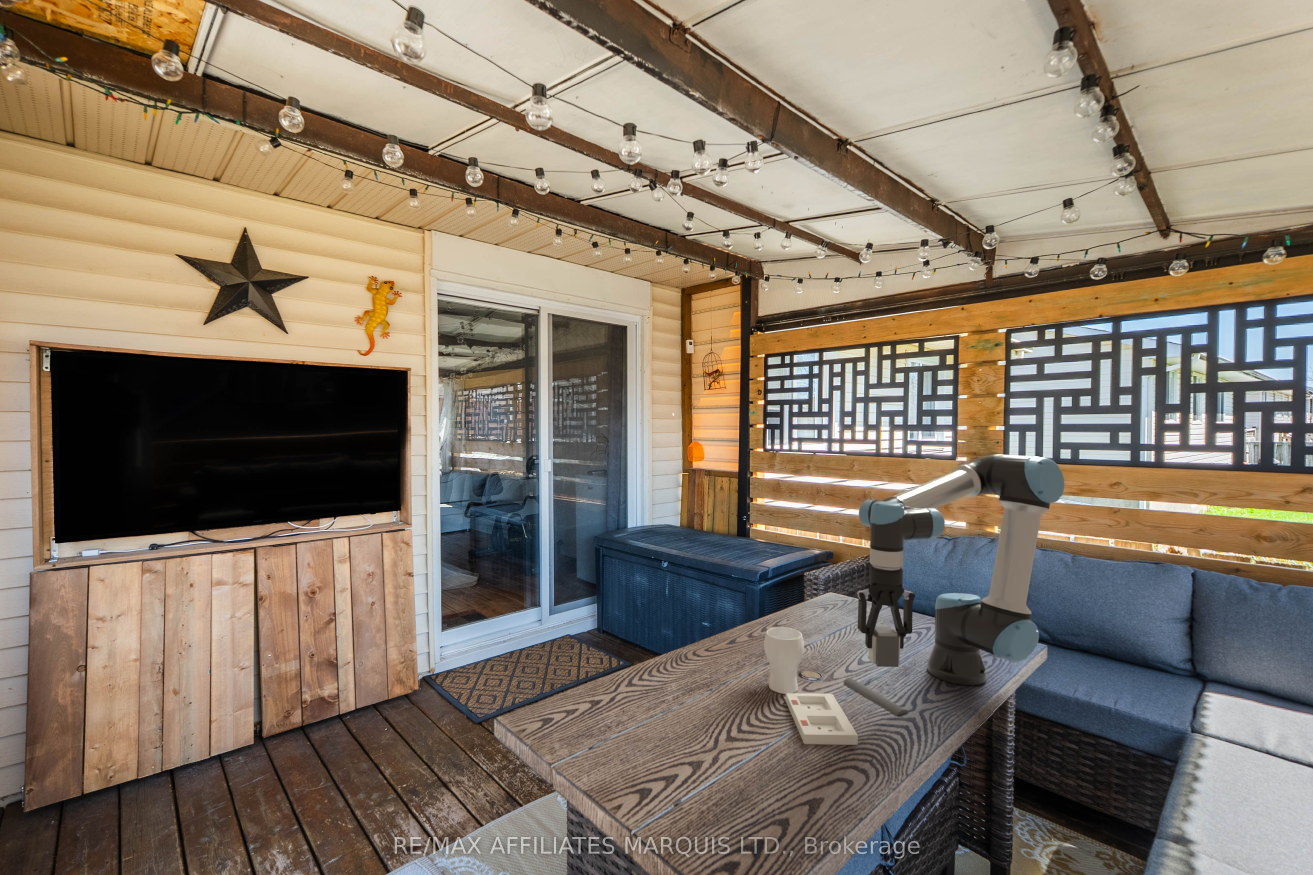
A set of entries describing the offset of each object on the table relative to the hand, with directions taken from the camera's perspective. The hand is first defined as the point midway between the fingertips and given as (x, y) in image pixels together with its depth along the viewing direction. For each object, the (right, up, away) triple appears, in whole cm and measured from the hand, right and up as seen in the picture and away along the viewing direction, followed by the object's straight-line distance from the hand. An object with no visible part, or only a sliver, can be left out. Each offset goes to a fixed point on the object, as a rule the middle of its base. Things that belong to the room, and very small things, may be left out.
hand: (884, 660), depth 143 cm
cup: (-21, -14, +18) cm, 31 cm away
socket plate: (-16, -15, 0) cm, 22 cm away
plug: (0, 0, 0) cm, 0 cm away
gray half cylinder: (+2, -15, +13) cm, 20 cm away
